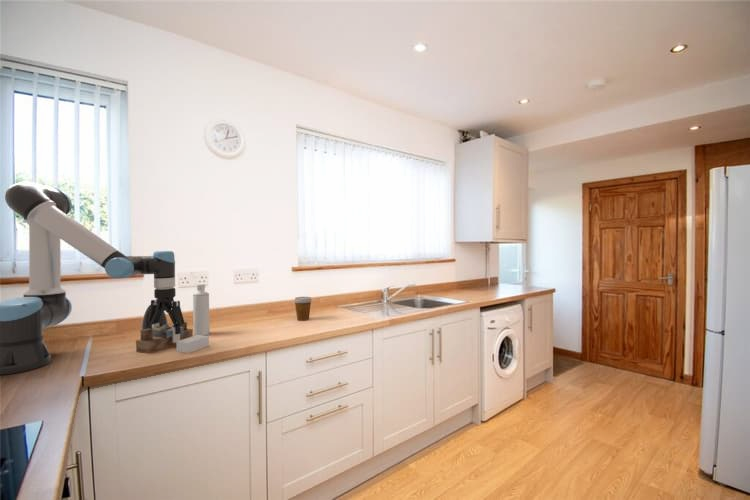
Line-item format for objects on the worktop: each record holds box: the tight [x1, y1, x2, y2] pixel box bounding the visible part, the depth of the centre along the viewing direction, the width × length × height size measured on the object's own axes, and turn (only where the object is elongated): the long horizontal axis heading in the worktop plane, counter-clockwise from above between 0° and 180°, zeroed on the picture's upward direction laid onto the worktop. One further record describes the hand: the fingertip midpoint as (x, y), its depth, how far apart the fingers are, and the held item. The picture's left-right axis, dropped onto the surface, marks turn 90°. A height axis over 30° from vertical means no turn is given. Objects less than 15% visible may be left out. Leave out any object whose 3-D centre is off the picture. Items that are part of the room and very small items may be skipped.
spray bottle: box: [192, 283, 211, 336], centre depth 158 cm, size 7×7×25 cm
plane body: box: [135, 321, 194, 354], centre depth 141 cm, size 20×7×8 cm, turn 160°
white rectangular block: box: [175, 335, 210, 354], centre depth 136 cm, size 10×6×4 cm, turn 160°
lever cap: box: [152, 325, 184, 338], centre depth 141 cm, size 8×11×4 cm
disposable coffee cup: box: [293, 296, 312, 322], centre depth 187 cm, size 10×10×12 cm
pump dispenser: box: [141, 304, 169, 330], centre depth 155 cm, size 10×10×15 cm
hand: (166, 340), depth 141 cm, fingers closed on lever cap, 11 cm apart
